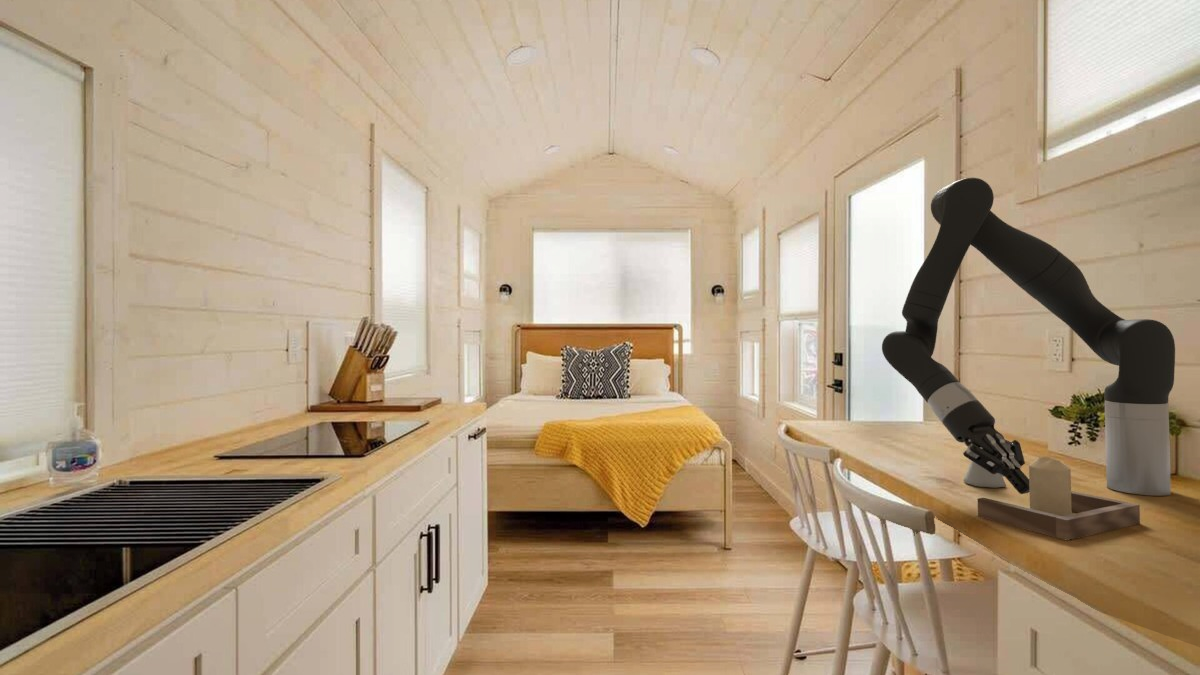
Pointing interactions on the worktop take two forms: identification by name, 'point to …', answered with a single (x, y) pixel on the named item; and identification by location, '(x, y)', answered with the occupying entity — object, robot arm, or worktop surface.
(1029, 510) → the walnut bay
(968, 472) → the flask
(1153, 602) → the worktop surface
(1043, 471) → the beige milk carton
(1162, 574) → the worktop surface
